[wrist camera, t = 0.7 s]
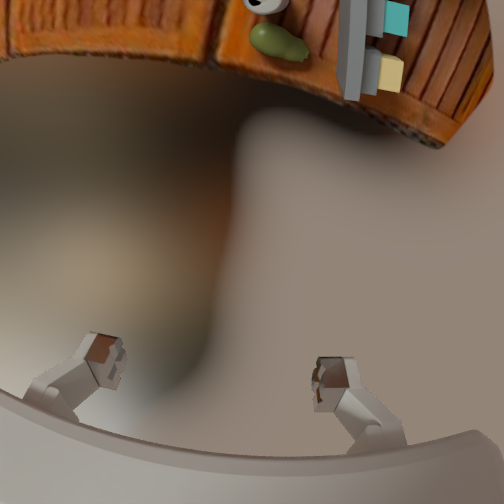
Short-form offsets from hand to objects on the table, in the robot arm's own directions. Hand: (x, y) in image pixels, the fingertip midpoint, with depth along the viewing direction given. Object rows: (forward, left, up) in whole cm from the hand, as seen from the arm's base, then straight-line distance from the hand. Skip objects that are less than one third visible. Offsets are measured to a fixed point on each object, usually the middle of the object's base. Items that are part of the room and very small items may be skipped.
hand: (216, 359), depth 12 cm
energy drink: (-13, 0, -49) cm, 51 cm away
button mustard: (+1, +14, -44) cm, 47 cm away
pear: (-5, -1, -49) cm, 49 cm away
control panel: (-9, +13, -49) cm, 51 cm away
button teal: (-8, +17, -44) cm, 48 cm away
